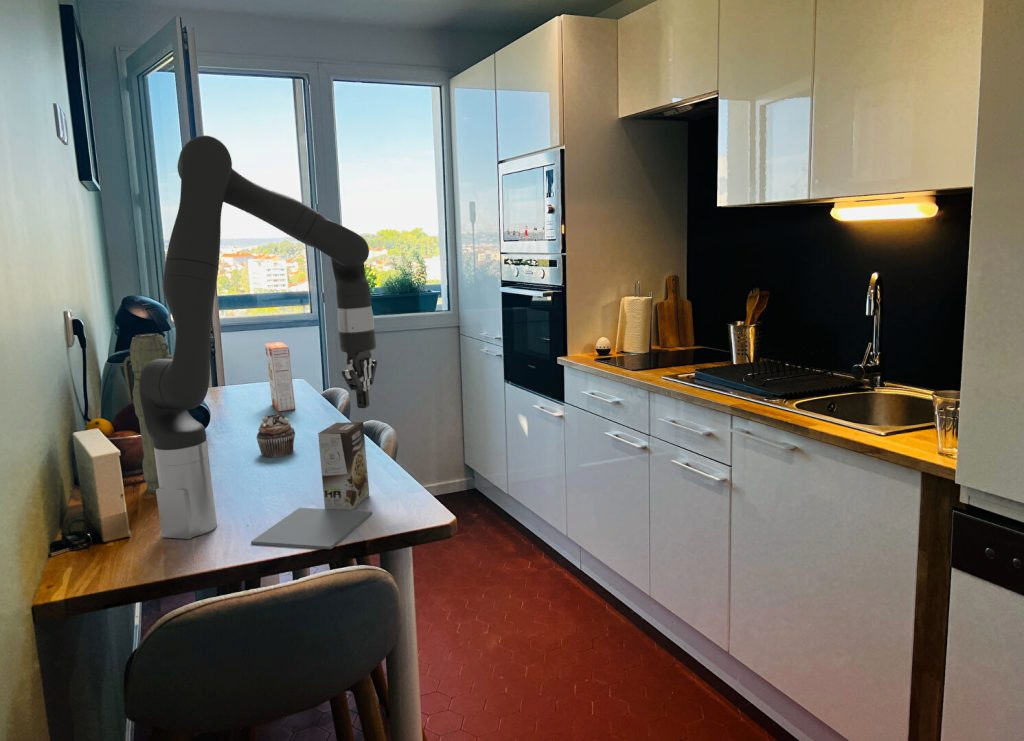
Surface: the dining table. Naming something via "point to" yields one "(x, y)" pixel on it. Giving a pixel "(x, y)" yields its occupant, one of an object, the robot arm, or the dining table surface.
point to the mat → (313, 528)
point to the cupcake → (275, 436)
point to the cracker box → (280, 376)
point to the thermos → (141, 354)
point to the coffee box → (343, 465)
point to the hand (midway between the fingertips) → (363, 407)
